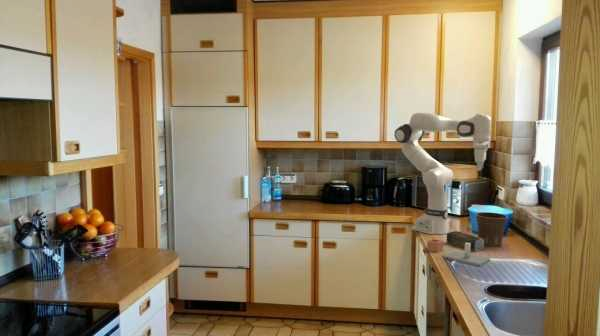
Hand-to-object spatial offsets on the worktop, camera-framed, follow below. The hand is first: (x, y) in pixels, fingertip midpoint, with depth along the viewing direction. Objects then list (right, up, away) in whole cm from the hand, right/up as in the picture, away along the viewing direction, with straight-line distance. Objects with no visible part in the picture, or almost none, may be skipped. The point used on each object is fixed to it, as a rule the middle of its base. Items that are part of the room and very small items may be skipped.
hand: (480, 169), depth 250 cm
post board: (-16, -44, -25) cm, 54 cm away
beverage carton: (-9, -42, -2) cm, 43 cm away
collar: (-27, -42, -10) cm, 51 cm away
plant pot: (+7, -41, +3) cm, 42 cm away
